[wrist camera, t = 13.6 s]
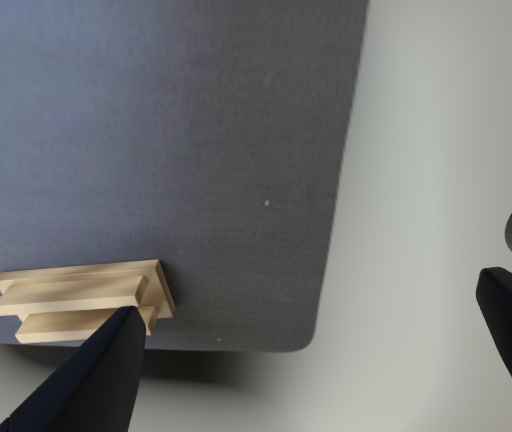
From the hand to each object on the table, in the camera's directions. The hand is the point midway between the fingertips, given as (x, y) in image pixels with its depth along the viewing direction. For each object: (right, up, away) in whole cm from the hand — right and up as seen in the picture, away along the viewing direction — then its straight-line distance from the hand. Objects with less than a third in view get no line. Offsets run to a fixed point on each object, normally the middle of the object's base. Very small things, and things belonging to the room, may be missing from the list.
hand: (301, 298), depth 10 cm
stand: (-14, -4, +18) cm, 23 cm away
